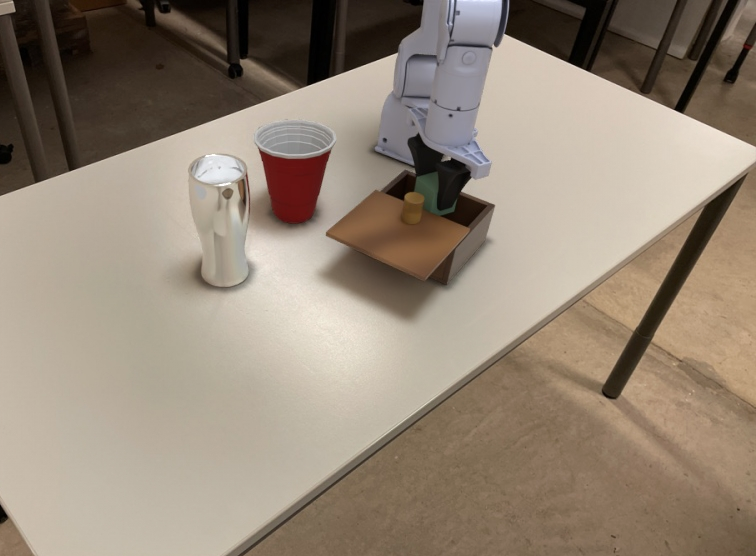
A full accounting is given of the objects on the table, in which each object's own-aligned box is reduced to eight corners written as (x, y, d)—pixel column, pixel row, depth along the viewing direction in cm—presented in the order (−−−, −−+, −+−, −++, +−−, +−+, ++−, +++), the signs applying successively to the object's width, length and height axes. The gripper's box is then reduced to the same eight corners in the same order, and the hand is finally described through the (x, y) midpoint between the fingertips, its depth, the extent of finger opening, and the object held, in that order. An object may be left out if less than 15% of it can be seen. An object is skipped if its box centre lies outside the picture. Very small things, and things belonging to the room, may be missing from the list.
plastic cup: (320, 185, 98) (324, 110, 90) (340, 229, 91) (347, 151, 83) (248, 193, 96) (246, 117, 88) (263, 238, 89) (261, 159, 80)
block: (412, 202, 88) (416, 176, 85) (436, 195, 89) (442, 169, 86) (429, 219, 85) (434, 192, 82) (454, 211, 87) (460, 185, 84)
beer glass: (209, 296, 81) (199, 192, 70) (189, 263, 85) (177, 160, 74) (261, 280, 83) (259, 177, 72) (239, 248, 87) (234, 147, 77)
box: (356, 244, 89) (360, 207, 85) (399, 204, 96) (405, 169, 91) (446, 285, 84) (455, 248, 80) (485, 240, 91) (495, 204, 86)
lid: (325, 236, 80) (327, 210, 77) (375, 193, 87) (378, 168, 84) (424, 281, 75) (430, 256, 72) (469, 232, 81) (475, 207, 79)
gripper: (523, 120, 73) (493, 221, 83) (446, 68, 82) (428, 164, 92) (472, 133, 71) (448, 235, 81) (399, 78, 80) (385, 175, 89)
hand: (434, 198), depth 86 cm, fingers closed on block, 4 cm apart
